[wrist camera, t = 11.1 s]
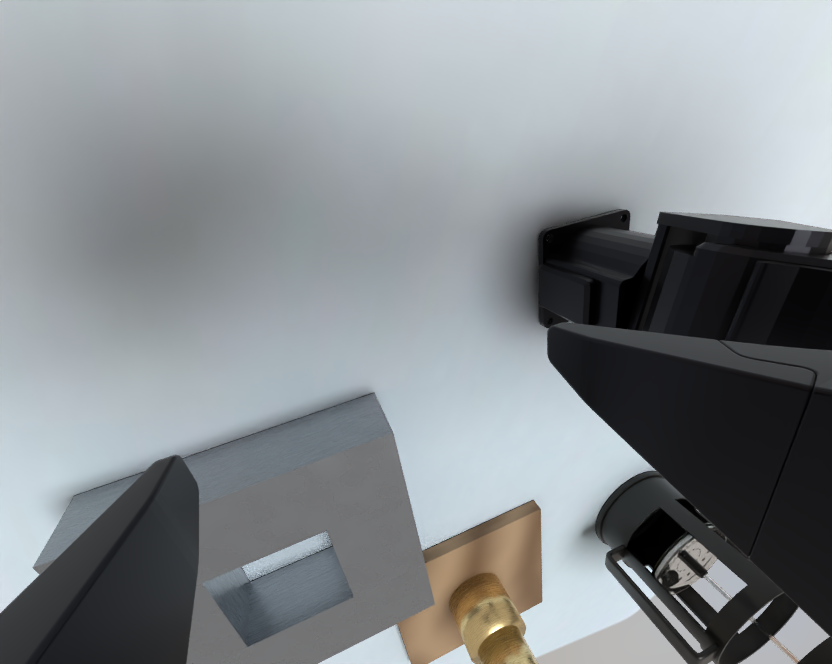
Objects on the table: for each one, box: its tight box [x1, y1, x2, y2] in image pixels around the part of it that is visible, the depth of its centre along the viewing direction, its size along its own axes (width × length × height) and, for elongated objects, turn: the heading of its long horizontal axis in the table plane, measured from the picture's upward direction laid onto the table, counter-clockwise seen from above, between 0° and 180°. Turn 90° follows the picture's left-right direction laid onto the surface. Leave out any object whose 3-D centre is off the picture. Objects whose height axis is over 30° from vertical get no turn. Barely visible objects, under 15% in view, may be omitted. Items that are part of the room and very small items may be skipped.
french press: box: [596, 471, 832, 664], centre depth 29 cm, size 12×9×23 cm
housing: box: [33, 393, 435, 664], centre depth 23 cm, size 16×16×4 cm
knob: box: [449, 573, 538, 664], centre depth 30 cm, size 5×5×9 cm
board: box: [398, 500, 542, 664], centre depth 34 cm, size 14×14×1 cm
